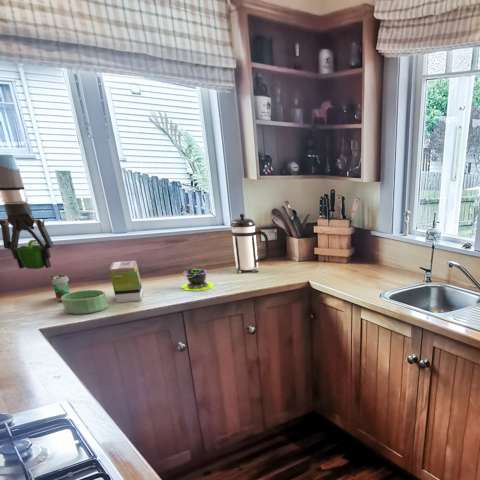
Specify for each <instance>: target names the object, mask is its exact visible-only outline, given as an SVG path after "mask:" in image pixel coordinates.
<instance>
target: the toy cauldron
mask: <svg viewBox="0 0 480 480" xmlns="http://www.w3.org/2000/svg"><path fill="white" fill-rule="evenodd" d="M191 264H192V265H193V262H191V263H190V265H191ZM195 266H198V263H197V264H196V263H195ZM201 267H202V268H204V266H203V265H202V266H201ZM202 268H200V267H199V268H196V267H194V268H192V269H189V268H188V267H186V269H188V270H184V271H183V272H182V274H183V275H185V278H186V280H187V281H188V283H186V284H183V285H182V286H181V287H180V288H181V289H182V290H183V291H188V292H189V291H190V292H197V291H200V292H201V291H206V290H210V289H212V288H214V287H215V284H214V283H212V282H208V281H206V280H207V275H206V274H207V273H209V270H206V269H202Z"/></svg>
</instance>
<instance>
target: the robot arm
mask: <svg viewBox="0 0 480 480" xmlns="http://www.w3.org/2000/svg"><path fill="white" fill-rule="evenodd" d="M0 199H1V202H2V203H3V209H4V211H5V214H6V217H7V218H6V219H0V228H1V234H2V235H1V236H2V242H3V243H2V244H3V247H4V249H7V250H10V251H11V254H12V257H13V259H14V260H16V262H17V265H18V268H19V270H20V269H21V270H22V269H24V268H26V267H25V266H24V264H23V263H22V261H21V260H20V258H19V255H18V253H17V249H18V248H19V247H18V246H19V240H20V235H21V232H22V231H27V232H28V233H29V234H30V235H31V236H32V238H33V240H36V243H37V245H40V246H41V248H42V250H41V254H42V257H43V261H44V264H45V266H44V267H45V268H46V269H49V268H51V267H52V264H51V261H50V259H51V258H52V255H51V252H50V249H51V248H53V247H54V246H55V245H54V243H53V241H52V238H51V237H50V234H49V233H48V231H47V228H46V225H45V220H44V219H41V218H40V219H39V218H35V217H34V216H33V213H32V208H31V205H30V203H28V202H29V199H28V195H27V192H26V189H25V186H24V182H23V178H22V175H21V172H20V167H19V165H18V162H17V159H16V157H15V156H14V155H12V154H0ZM10 225H11V226H12V228H11V230H10ZM35 225H36V226H37V228H36V227H35ZM37 229H38V230H37ZM10 231H11V233H10ZM38 231H39V232H38Z"/></svg>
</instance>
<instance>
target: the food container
mask: <svg viewBox="0 0 480 480" xmlns="http://www.w3.org/2000/svg"><path fill="white" fill-rule="evenodd" d="M50 279H51V284H52V287H53V290H54V295H55V298H56V301H57V303H62V300H61V297H62V296H63V295H65V294H68V293H70V288H69V283H68V282H69V281H70V280H69V277H68V276H67V275H66V274H63V273H50Z"/></svg>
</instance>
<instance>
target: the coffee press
mask: <svg viewBox="0 0 480 480" xmlns="http://www.w3.org/2000/svg"><path fill="white" fill-rule="evenodd" d="M227 230H228V231H231V236H232V243H233V253H234V261H235V267H236V269H237V270H236V273H237V274H241V273H242V272H243V271H254V272H255V273H259V271H260V270H259V262H266V261H267V260H268V259H269V258H270V243H269V237H268V235H267V233H266V232H264V231H262V230H256V223H255V221H254V220H253V219H251V218H246V217H245V214H244V213H240V214H239V218H235V219H233V220H231V222H230V226H229V227H228V228H227ZM256 235H261V236H263V237H264V243H265V255H264V257H258V248H257V237H256Z"/></svg>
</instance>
